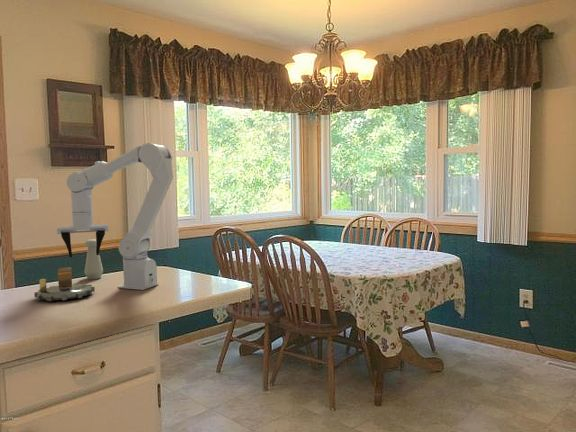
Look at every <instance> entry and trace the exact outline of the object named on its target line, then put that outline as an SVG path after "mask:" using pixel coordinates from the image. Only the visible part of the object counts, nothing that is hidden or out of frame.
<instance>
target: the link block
mask: <svg viewBox="0 0 576 432" xmlns="http://www.w3.org/2000/svg"><path fill="white" fill-rule="evenodd" d="M72 275H73V273H72V267H58V268H57V280H58V281H57V282H58V283H57V284H58V286H59V288H60V287H63V286H70V287H72V284H73V278H72Z"/></svg>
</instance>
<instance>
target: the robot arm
mask: <svg viewBox="0 0 576 432" xmlns="http://www.w3.org/2000/svg"><path fill="white" fill-rule="evenodd" d="M172 160H173V155H172V154H171V152H170V149H168V147H167V146H165V145H164V144H157V143H155V144H154V143H152V142H146V143H144V144H142V145H137V146H135V147H133V149H130V150H129V151H127V152H126V153H123V154H122V155H120V156H118V157H116V158H115V159H112V160H111V161H108V162H107V161H104V160H102V161H100V160H97V161H95V162H94V165H91V166H89V167H87V168H82V169H81V172H77V171H73V172H72V173H70V174H69V175H68V176H67V178H66V186H67V188H68V189H69V190H70V194H71V195H70V198H71V215H72V216H71V217H72V218H71V219H72V225H71V226H69V225H68V226H57V227H56V233H57V235H61V239H62V240H63V242H64V244H65V246H66V248H67V251H68V256H69V258H73V253H72V244H71V243H72V242H71V234H75V233H76V234H77V233H78V234H79V233H94V232H95V239H96V255H100V249H101V245H102V242H103V239H104V237H105V235H106V232H109V224H94V222H93V219H94V218H93V217H94V216H93V202H92V201H93V200H92V193H93V189H94V187H96V186H97V185H100V184H103V183H104V182H106V181H109V180H111V179H112V178H113V176H114V173H115V172H117V171H120V170H123V169H126V168H127V167H129V166H132V165H135V164H136V163H142V164H143V165H144V166H145V167H146V168H147V169H148V170H149V172H150V174H151V176H152V181H151V183H150V185H149V188H148V190H147V193H146V195H145V197H144V200H143V202H142V205H141V207H140V209H139V212H138V214H137V217H136V219H135V221H134V223H133V225H132V226H131V228H129V230H128V231H126V235H125V237H124V238H123V239H121V240H120V242H119V243H118V249H117V250H118V251H119V254H120V255H121V256H122V268H123V269H122V272H123V284H121V285H117V289H125V290H126V289H128V290H129V289H130V290H141V291H143V290H147V289H150V288H152V287H156V286H158V285H159V284H160V283H159V282H158V273H157V267H158V266H157V263H156V261H155V259H153V258H150V257H149V256H148V252H149V250H150V249H151V239H152V235H153V234H152V231H151V230H152V228H153V226H154V224H155V220H156V219H157V218H158V217H157V216H158V214H159V212H160V210H161V207H162V205H163V202H164V200H165V198H166V196H167V193H168V192H169V191H168V190H169V189H170V186H171V184H172V182H173V178H174V175H173V165H172Z"/></svg>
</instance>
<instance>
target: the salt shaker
mask: <svg viewBox="0 0 576 432" xmlns="http://www.w3.org/2000/svg"><path fill="white" fill-rule="evenodd" d="M85 247H86V248H87V250H86V251H87V252H86V259H85V265H84V270H83V271H84V275H85V276H86V278H87V279H88V280H99V279H101V278H102V276H103V272H104V268H103V265H102V260H101V256H100V254H99V255H96V238H91V239H87V240H85Z"/></svg>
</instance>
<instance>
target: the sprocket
mask: <svg viewBox="0 0 576 432" xmlns="http://www.w3.org/2000/svg"><path fill="white" fill-rule="evenodd" d="M95 289H96V288H95V286H93V285H92V284H82V283H75V284H74V283H72V287H70V286H63V287H60V288H59V285H55V286H54V285H51V286H49V287H47V279H46V278H41V279H39V289H38V291H35V292H34V298H36V300H38V301H41V300H43V301H47V302H52V301H68V300H72V299H80V298H83V297H85V296H91V295H92V294H93V293H95Z"/></svg>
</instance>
